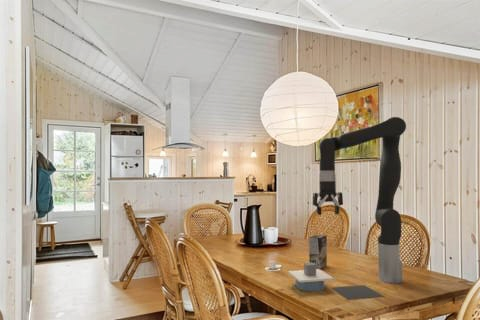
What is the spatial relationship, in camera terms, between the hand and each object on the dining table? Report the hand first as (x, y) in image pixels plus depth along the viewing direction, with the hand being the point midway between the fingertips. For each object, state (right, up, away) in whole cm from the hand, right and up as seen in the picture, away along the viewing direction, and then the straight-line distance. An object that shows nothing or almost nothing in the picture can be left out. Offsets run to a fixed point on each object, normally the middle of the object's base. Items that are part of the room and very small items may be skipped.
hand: (328, 214), depth 177 cm
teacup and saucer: (-22, -32, +16) cm, 42 cm away
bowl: (-11, -30, -15) cm, 35 cm away
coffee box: (0, -31, +21) cm, 38 cm away
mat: (+7, -29, -22) cm, 37 cm away
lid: (-11, -25, -14) cm, 31 cm away
